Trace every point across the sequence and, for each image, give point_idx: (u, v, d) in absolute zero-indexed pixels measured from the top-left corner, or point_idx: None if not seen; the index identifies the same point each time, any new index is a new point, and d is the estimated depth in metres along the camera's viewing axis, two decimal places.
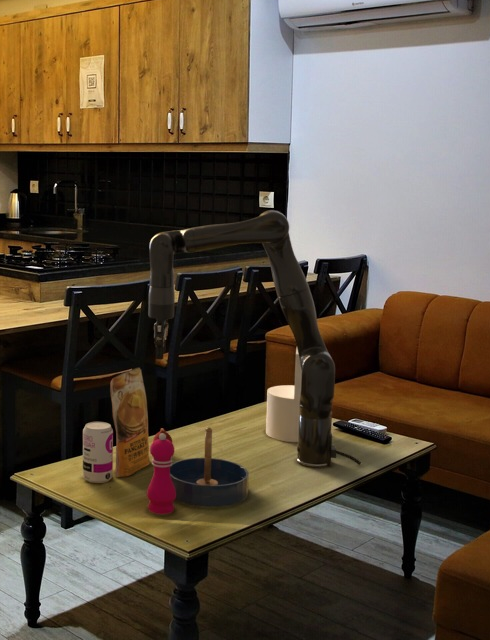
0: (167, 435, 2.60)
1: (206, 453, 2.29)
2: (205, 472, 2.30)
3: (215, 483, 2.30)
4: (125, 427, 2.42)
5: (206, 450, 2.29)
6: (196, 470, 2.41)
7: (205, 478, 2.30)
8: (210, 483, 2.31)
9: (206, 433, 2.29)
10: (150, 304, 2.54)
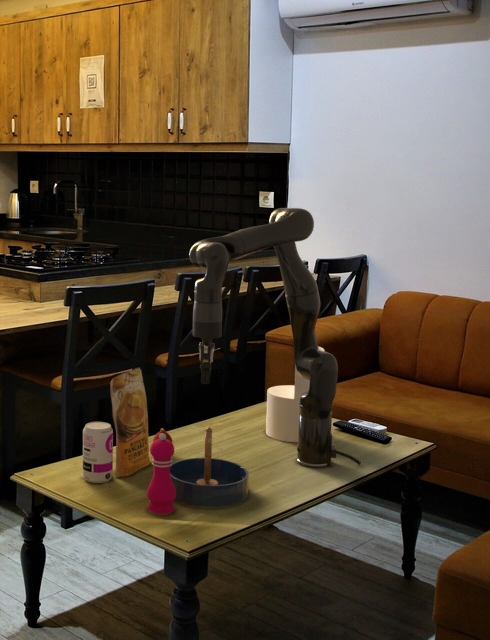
0: (167, 435, 2.60)
1: (206, 453, 2.29)
2: (205, 472, 2.30)
3: (215, 483, 2.30)
4: (125, 427, 2.42)
5: (206, 450, 2.29)
6: (196, 470, 2.41)
7: (205, 478, 2.30)
8: (210, 483, 2.31)
9: (206, 433, 2.29)
10: (195, 322, 2.26)
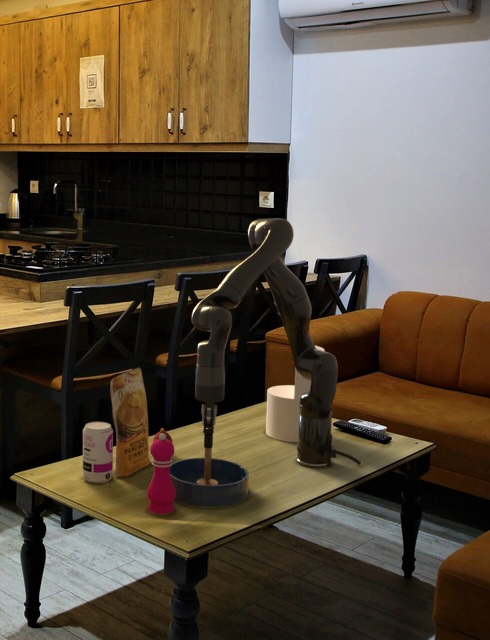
0: (167, 435, 2.60)
1: (206, 453, 2.29)
2: (205, 472, 2.30)
3: (215, 483, 2.30)
4: (125, 427, 2.42)
5: (206, 450, 2.29)
6: (196, 470, 2.41)
7: (205, 478, 2.30)
8: (210, 483, 2.31)
9: None
10: (198, 385, 2.26)
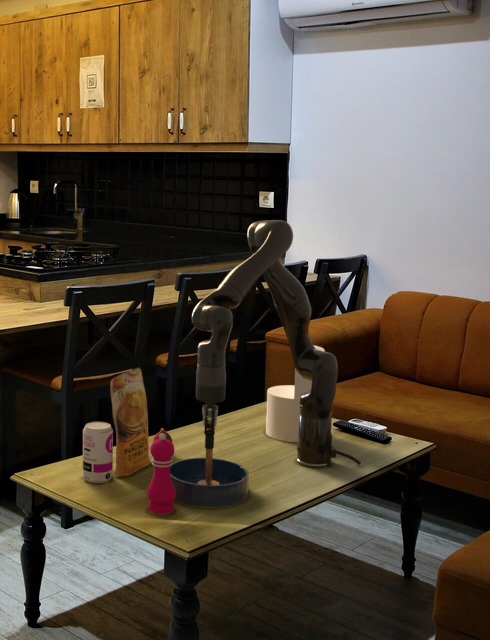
0: (167, 435, 2.60)
1: (207, 454, 2.27)
2: (206, 473, 2.27)
3: (216, 484, 2.28)
4: (125, 427, 2.42)
5: (207, 451, 2.27)
6: (196, 470, 2.41)
7: (206, 479, 2.28)
8: (211, 484, 2.28)
9: None
10: (199, 385, 2.23)
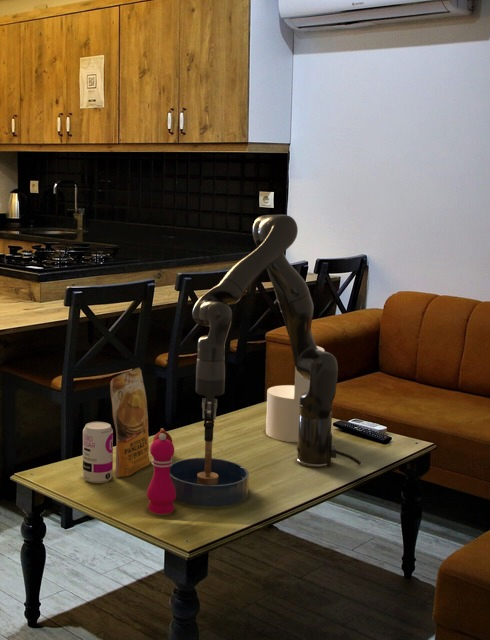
0: (167, 435, 2.60)
1: (206, 446, 2.32)
2: (206, 465, 2.33)
3: (215, 476, 2.33)
4: (125, 427, 2.42)
5: (206, 443, 2.32)
6: (196, 470, 2.41)
7: (205, 471, 2.33)
8: (210, 475, 2.34)
9: None
10: (198, 379, 2.29)
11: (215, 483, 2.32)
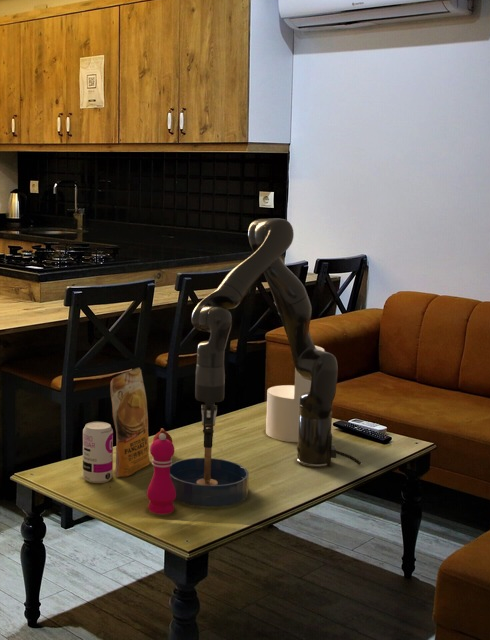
0: (167, 435, 2.60)
1: (206, 453, 2.29)
2: (205, 472, 2.30)
3: (215, 483, 2.30)
4: (125, 427, 2.42)
5: (206, 450, 2.29)
6: (196, 470, 2.41)
7: (205, 478, 2.30)
8: (209, 482, 2.31)
9: None
10: (198, 385, 2.26)
11: None
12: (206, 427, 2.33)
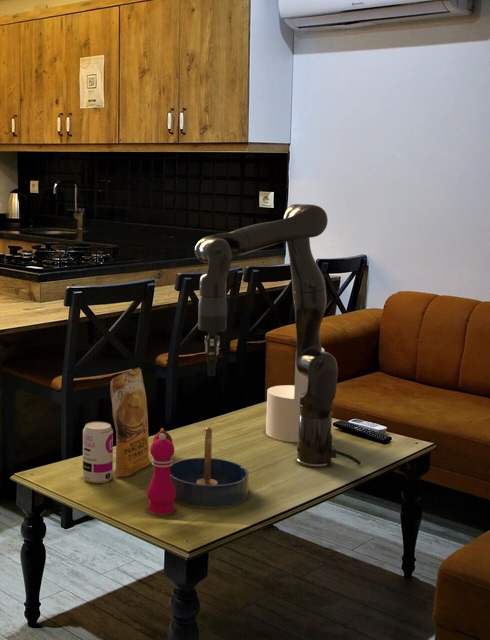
0: (167, 435, 2.60)
1: (206, 453, 2.29)
2: (205, 472, 2.30)
3: (215, 483, 2.30)
4: (125, 427, 2.42)
5: (206, 450, 2.29)
6: (196, 470, 2.41)
7: (205, 478, 2.30)
8: (209, 482, 2.31)
9: (206, 433, 2.29)
10: (201, 316, 2.32)
11: None
12: None
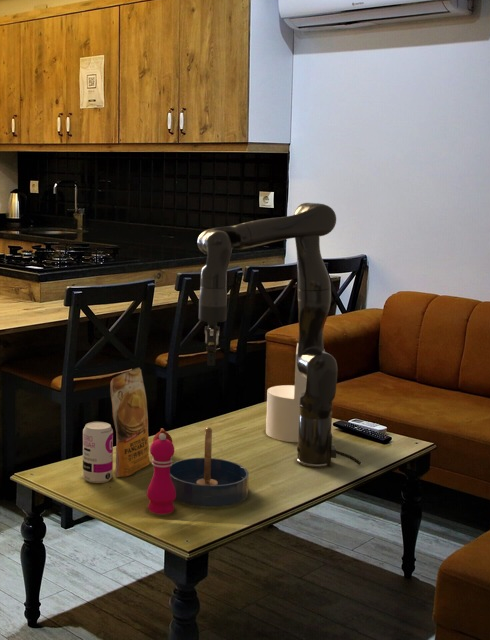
0: (167, 435, 2.60)
1: (206, 453, 2.29)
2: (205, 472, 2.30)
3: (215, 483, 2.30)
4: (125, 427, 2.42)
5: (206, 450, 2.29)
6: (196, 470, 2.41)
7: (205, 478, 2.30)
8: (209, 482, 2.31)
9: (206, 433, 2.29)
10: (201, 306, 2.37)
11: None
12: None
